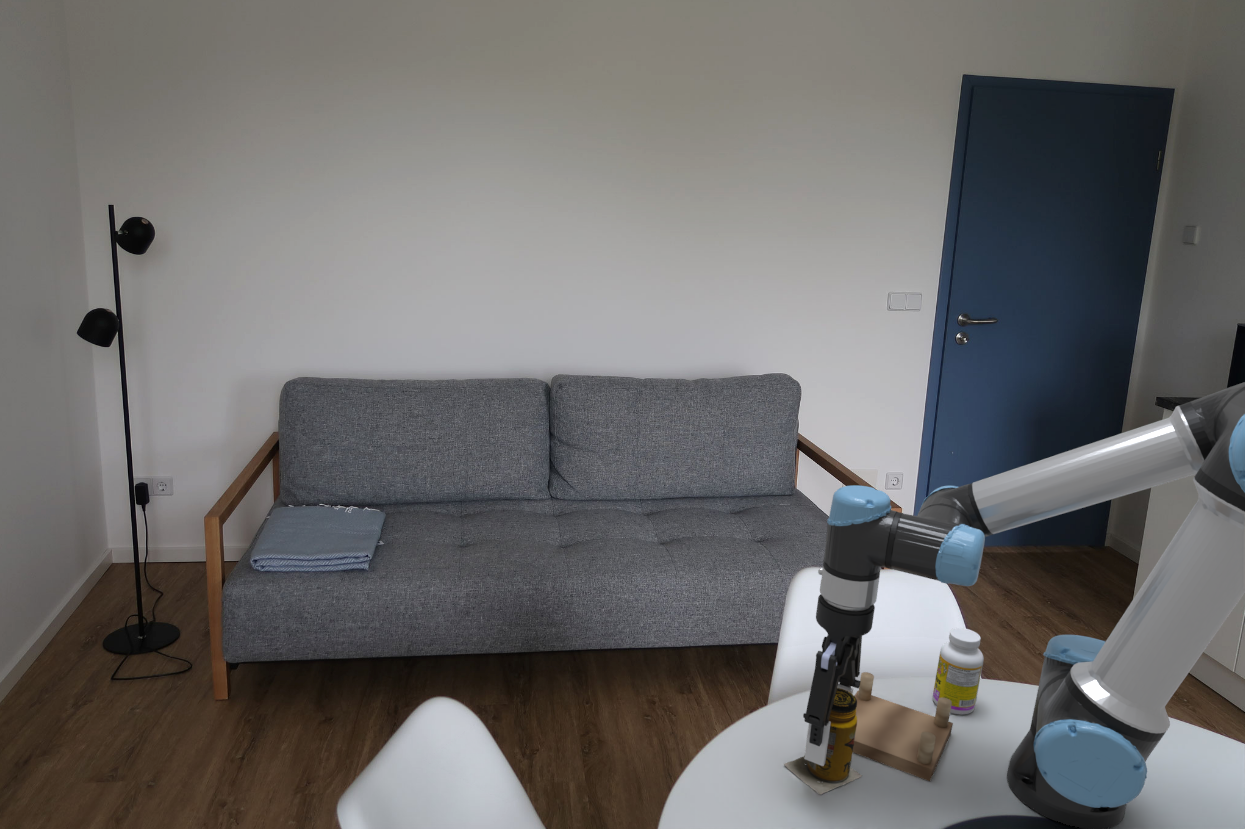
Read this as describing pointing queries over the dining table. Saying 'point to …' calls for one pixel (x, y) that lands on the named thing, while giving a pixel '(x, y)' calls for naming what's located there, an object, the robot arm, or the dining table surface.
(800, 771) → the condiment
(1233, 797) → the dining table surface
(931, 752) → the peg holder
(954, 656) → the supplement bottle
